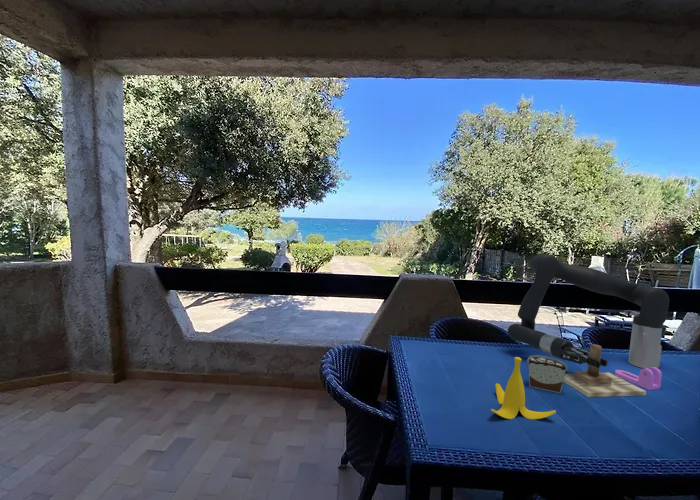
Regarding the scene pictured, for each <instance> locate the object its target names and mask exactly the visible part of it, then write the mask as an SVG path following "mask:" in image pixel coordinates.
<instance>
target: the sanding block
mask: <svg viewBox="0 0 700 500" xmlns="http://www.w3.org/2000/svg"><path fill="white" fill-rule="evenodd" d="M589 350H590V354H589V358H592V359H594V360H597V361H600V359H601V358H602V357H601V356H602V350H603V349H602V345H599V344H597V343H596V344H595V343H591V344H590V346H589ZM587 365H588V366H587V370H574V373H575V375H574V379H576V380H578V381H579V382H581V383H583V384H584V385H586V386H588V387H590V386H611V382H612V378H611V377H609V376H607V375H605V374H603V373H604V372H601V371H600V368H597V367H594V366H592V365H589V364H587Z"/></svg>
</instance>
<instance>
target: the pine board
mask: <svg viewBox="0 0 700 500" xmlns="http://www.w3.org/2000/svg"><path fill="white" fill-rule="evenodd" d="M602 373H603V374H605V375H607V376H609V377H611V378H612V382H611V386H590V387H588V386H586V385H584V384H583V383H581V382H579V381H578V380H576V379H574V375H575V372H573V373H565V376H564V381H563V383H565V384H566V385H568V386H569V387H571V388H572V389H575V390H576V391H578V392H579V393H581V394H582V395H584V396H585V397H587V398H607V397H631V396H632V397H635V396H636V397H637V396H646V395H647V390H646V389H643V388H641V387H640V386H638V385H636V384H634V383H632V382H629V381H627V380H625V379H622V378H620V377H618V376H616V375H615V374H613V373H611V372H602Z"/></svg>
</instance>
